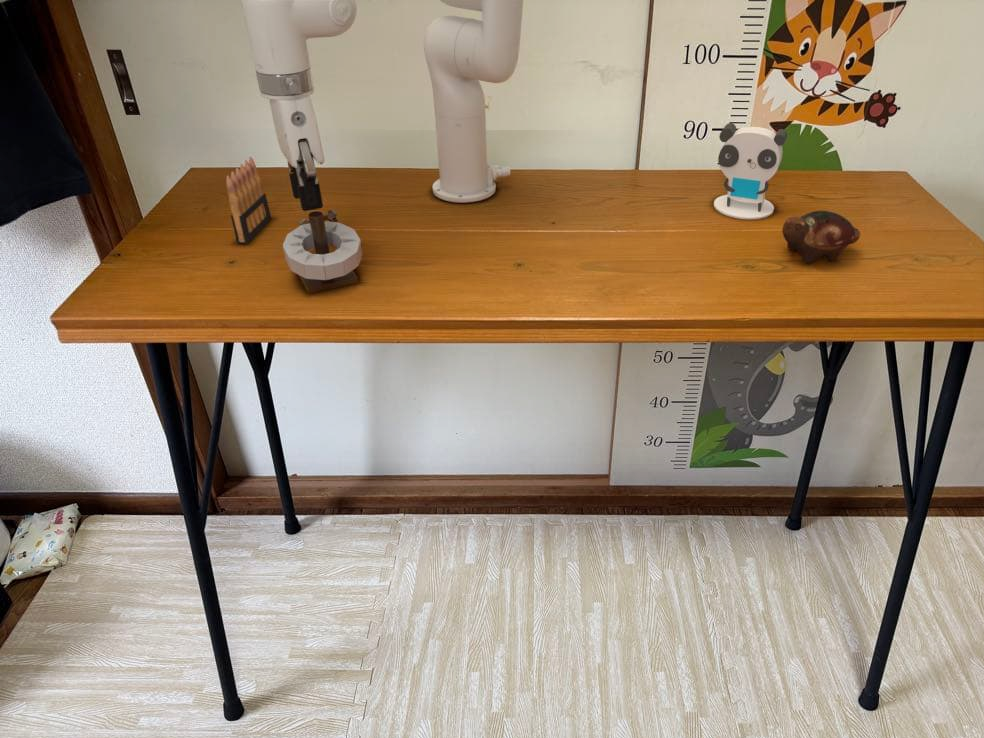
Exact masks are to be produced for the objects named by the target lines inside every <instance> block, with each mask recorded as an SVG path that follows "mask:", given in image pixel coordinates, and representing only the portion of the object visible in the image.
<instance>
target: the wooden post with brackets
mask: <svg viewBox="0 0 984 738" xmlns="http://www.w3.org/2000/svg"><path fill="white" fill-rule="evenodd" d="M338 214H339V213H338V211H336V210H331V209H329V210H327V213H326V214H323V216H324V221H328V222H339V220H338V218H337V216H338ZM308 223H310V221H309V219H307V218H304V219H302V221H300V222H299V224H300V226H301V225H304V224H308Z"/></svg>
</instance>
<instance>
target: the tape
mask: <svg viewBox="0 0 984 738" xmlns="http://www.w3.org/2000/svg"><path fill="white" fill-rule="evenodd" d="M324 222H325V228H326V233H327V239H328V244H329V247H334V248H336V250H334V251H333V252H330V253H328V254H324V255H321V254H316V253H311V252H310V251H311V250H312V249H315V247H314V242H313V237H312V231H311V226H310V223H308V224H304V225H301V224H300V225H299V226H298V227H296V228H295V229H293V230H291V231H290V232H288V233H287V234H286V237H285V239H284V241H283V243H282V248H283V249H282V250H283V254H284V259H285V262H286V264H287V266H288V267H289V270H290V271H291V272H292V273H294V274H295V275H296V274H297V275H298V276H299V275H300V276H302V277H304V278H306V279H317V280H329V279H333V278H337V277H341V276H345V275H347V274H348V273H349V272H351V271H352V270H353V271H354V270H355V269H356V268H357V267H359V265H360V262H361V260H362V257H363V251H362V250H363V249H362V240H361V239H360V237H359V235H358V233H357V232H356V229H354V228H353V227H350V226H347V225H346V224H343V223H341V222H339V221H338V222H330V221H328V220H326V221H324Z"/></svg>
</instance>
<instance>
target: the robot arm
mask: <svg viewBox="0 0 984 738" xmlns="http://www.w3.org/2000/svg"><path fill="white" fill-rule="evenodd" d="M240 1H241V6H242V12H243V17H244V21H245V25H246V30H247V31H246V32H247V36H248V39H249V46H250V49H251V54H252V59H253V64H254V69H255V74H256V79H257V84H258V88H259V93H260V96H261V97H263V98H265V99H268V100H269V105H270V110H271V115H272V121H273V125H274V131H275V134H276V140H277V143H278V146H279V149H280V151H281V153H282V154H283V156H284V157H285V160H287V161H286V162H287V168H288V170H289V173H288V176H289V180H290V185H291V191H292V195H293V197H294V199H296V200H297V199H298V200H299V203H300V206H301V207H300V208H301V210H302V211H303V212H307V211H315V210H318V209H322V208H323V207H324V204H323V197H322V193H321V186H320V182H319V178H318V174H317V169H316V164H315V162H316V163H317V164H319V165H323V164H324V163H325V161H326V160H325V155H324V150H323V145H322V141H321V136H320V132H319V126H318V121H317V118H316V114H315V109H314V105H313V103H312V99H311V95H313V93H315V87H314V79H313V74H312V68H311V63H310V57H309V51H308V45H307V41H308V40H309V39H316V38H317V39H318V38H333V37H338V36H342V35H343V34H345V33H346V32H347V31H349V29H350V28H351V27H352V26H353V24H354V22H355V20H356V17H357V10H358V9H357V2H356V0H240ZM440 2H442V3H443V4H445V5H446V6H450V7H453V8H458V9H462V10H468V11H475V12H481V18H482V19H474V18H468V17H463V16H457V15H444V16H440V17H437V18H435V19H434V20H432V21H431V23H429V25H428V26H427V28H426V29H425V33H424V37H423V51H424V57H425V60H426V61H425V62H426V65H427V68H428V72H429V77H430V81H431V87H432V95H433V109H434V119H435V120H434V121H435V122H434V123H435V131H436V132H435V133H436V148H437V160H438V173H439V178H438V179H437V180H435V181H434V182H433V183H432V194H433V195H434V196H435V197H437V198H438V199H440V200H442V201H446V202H450V203H461V204H462V203H463V204H464V203H465V204H467V203H476V202H480V201H483V200H486V199H488V198H490V197H492V196H493V195H494V194H495V193H496V190H497V184H496V182H495V181H497V179H499V178H507V177H510V176H511V168H510V167H509V166H503V167H500V166H499V164H493V165H488V147H487V146H488V145H487V118H486V116H487V115H486V114H487V113H486V99H485V94H484V89H483V87H482V85H481V82H486V83H491V84H501V83H505V82H507V81H508V80H510V78H511V77H512V75H513V74H514V73H515V71H516V68H517V66H518V60H519V55H520V45H521V33H522V20H523V6H524V0H440Z"/></svg>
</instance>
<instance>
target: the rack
mask: <svg viewBox="0 0 984 738" xmlns="http://www.w3.org/2000/svg"><path fill="white" fill-rule="evenodd" d="M323 215H324V212H322V211H319V210H314V211H311V212H309V213H308V220H309V221H310V226H311V231H312V237H313V242H314V252H315V254H321V255H324V254H328V253H331V251H330V246H329V244H328V239H327V233H326V228H325V222H324V216H323ZM298 277H299V278H300V281H301V282H302V284H303V287H304V288H305V290H306V291H307V293H308V295H310V294H311V295H312V294H315V293H319V292H323V291H329V290H332V289H336V288H337V289H338V288H342V287H346V286H351V285H355V284H359V278H358V276H357V274H356V273H355V272H354V269H353V270H352V271H351V272H349V273H348V274H347V275H345V276H341V277H337V278H333V279H329V280H317V279H306V278H304V277H302V276H300V275H298Z"/></svg>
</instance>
